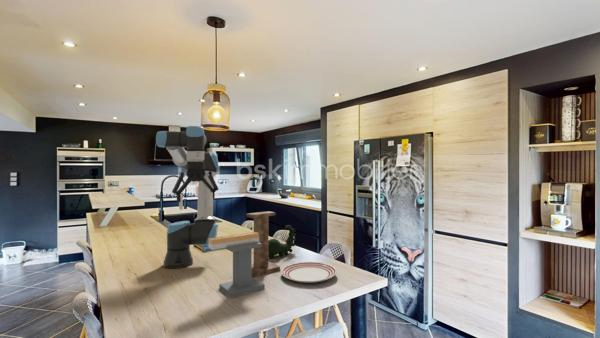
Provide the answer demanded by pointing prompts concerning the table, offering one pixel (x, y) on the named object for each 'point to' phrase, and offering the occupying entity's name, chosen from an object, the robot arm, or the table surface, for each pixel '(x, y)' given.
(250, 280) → the low stand
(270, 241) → the dark green knobbed ball
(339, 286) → the table surface
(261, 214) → the tall stand
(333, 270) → the dinner plate
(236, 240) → the brown and gray block
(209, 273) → the table surface
